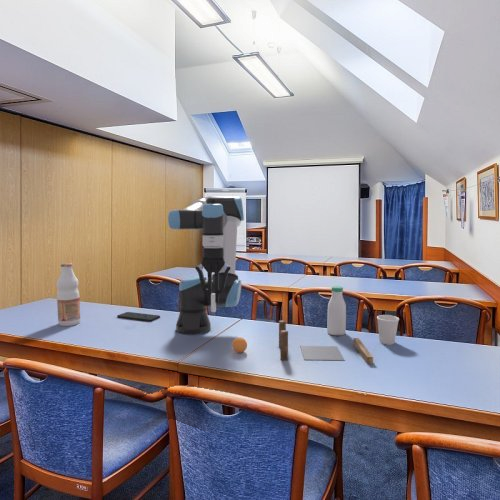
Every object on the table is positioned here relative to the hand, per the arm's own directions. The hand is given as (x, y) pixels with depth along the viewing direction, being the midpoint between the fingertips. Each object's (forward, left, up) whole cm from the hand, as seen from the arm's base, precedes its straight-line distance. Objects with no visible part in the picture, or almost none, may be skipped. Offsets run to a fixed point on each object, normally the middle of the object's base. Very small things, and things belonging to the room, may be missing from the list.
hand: (213, 311), depth 143 cm
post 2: (+26, -6, -15) cm, 30 cm away
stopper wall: (+55, 0, -15) cm, 57 cm away
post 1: (+26, +6, -15) cm, 31 cm away
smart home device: (-43, +46, -16) cm, 65 cm away
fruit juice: (-71, +35, -16) cm, 81 cm away
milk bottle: (+50, +24, -16) cm, 57 cm away
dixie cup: (+68, +13, -16) cm, 71 cm away
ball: (+10, 0, -13) cm, 16 cm away
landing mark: (+40, 0, -15) cm, 42 cm away
